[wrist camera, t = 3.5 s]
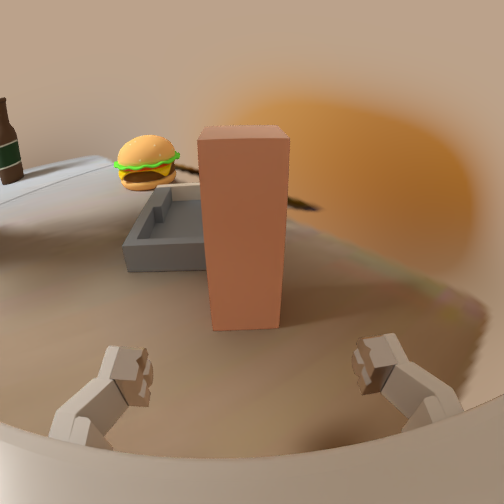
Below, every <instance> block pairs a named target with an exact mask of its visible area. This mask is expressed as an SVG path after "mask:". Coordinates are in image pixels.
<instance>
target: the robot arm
mask: <svg viewBox="0 0 504 504" xmlns="http://www.w3.org/2000/svg"><path fill="white" fill-rule="evenodd" d="M356 345H357V349H356V350H355V351H354V352H353V356H352V367H353V371H354V374H356V375H357V376H358V377H359V380H358V382H357V383H358V386H359V388H360V391H361V394H362V395H366V394H372V393H378V392H381V394H382V395H383V396H384V397H385V398H386V399H387V400H389V401H390V402H391V403H392V404H393V405H394V406H395V407H396V408H397V409H398V410H399V411H400V412H401V413H403V414H404V415H405V416H406V417H407V418H408V419H409V420H408V421H407V422H406V424H405V425H404V426H403V428H402V429H401V431H402V433H399V434H395V435H392V436H388V437H384V438H380V439H376V440H372V441H367V442H363V443H358V444H353V445H348V446H343V447H338V448H332V449H326V450H320V451H313V452H305V453H297V454H289V455H278V456H266V457H250V458H180V457H164V456H152V455H142V454H134V453H126V452H119V451H113V447H112V445H111V444H110V443H109V442H108V441H107V440H106V439H105V437H104V436H105V435H106V433H107V432H108V431H109V430H110V429H111V427H112V426H113V425H114V424H115V423H116V421H117V420H118V419H119V418H120V417H121V415H122V414H123V413H124V412H125V411H126V409H127V408H128V406H138V407H149V401H150V395H151V393H150V390H149V387H150V386H151V385H152V383H153V366H152V363H151V361H150V360H148V359H147V358H148V352H147V349H146V348H137V347H122V346H109V347H108V348H107V349H106V352H105V355H104V358H103V361H102V365H101V368H100V371H99V374H98V377H97V378H93V379H92V380H91V381H90V382H89V383H87V384H86V385H85V386H84V387H83V388H82V389H81V390H79V391H78V392H77V393H76V394H75V395H74V396H73V397H71V398H70V399H69V400H68V401H67V402H66V403H65V404H63V405H62V406H61V407H60V408H59V409H58V410H57V411H56V413H55V416H54V419H53V423H52V426H51V429H50V432H49V436H48V437H46V436H42V435H39V434H35V433H32V432H29V431H25V430H22V429H19V428H16V427H13V426H10V425H7V424H4V423H2V422H0V504H504V394H503V395H500V396H498V397H496V398H494V399H492V400H490V401H488V402H485V403H483V404H481V405H479V406H476V407H474V408H472V409H469V410H467V411H464V410H463V408H462V406H461V404H460V402H459V400H458V398H457V396H456V394H455V392H454V390H453V388H451V387H450V386H448V385H447V384H445V383H444V382H442V381H441V380H439V379H438V378H436V377H435V376H433V375H432V374H430V373H429V372H428V371H426V370H425V369H423V368H422V367H420V366H419V365H417V364H416V363H414V362H413V361H412V362H409V360H408V358H407V356H406V354H405V352H404V350H403V348H402V346H401V344H400V342H399V340H398V338H397V337H396V335H395V334H394V333H389V334H383V335H375V336H368V337H361V338H359V339H358V341H357V343H356Z"/></svg>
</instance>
